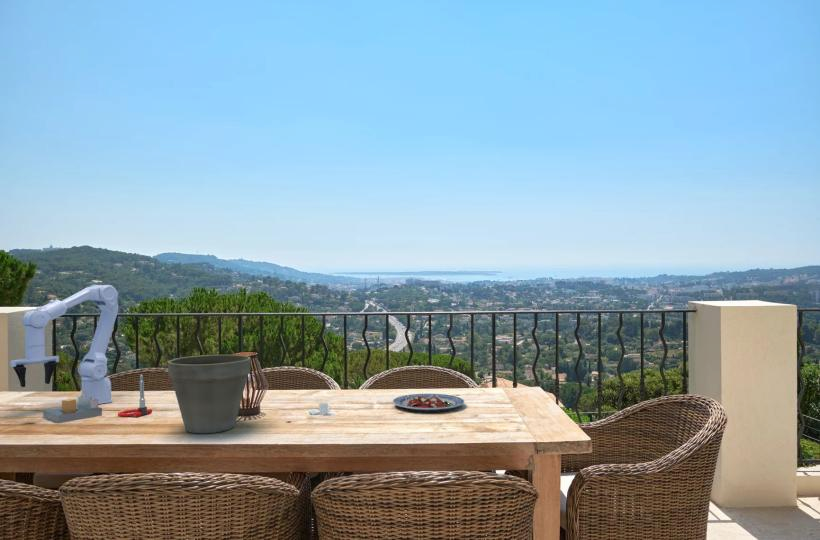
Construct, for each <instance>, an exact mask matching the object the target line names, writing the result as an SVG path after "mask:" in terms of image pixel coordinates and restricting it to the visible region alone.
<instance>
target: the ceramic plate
mask: <svg viewBox="0 0 820 540" xmlns="http://www.w3.org/2000/svg"><path fill="white" fill-rule="evenodd" d="M443 401H444V402H443ZM392 403H393V405H395V406H397V407H401V408H406V409H407V410H410V411H411V410H412V411H416V412H442V411H441V410H443V411H446V409H447V410H450V409H454V408H457V407H461V406H462V405H464V403H465V400H464V399H463V398H461V397H459V396H455V395H451V394H450V395H449V394H443V393H413V394H412V393H411V394H405V395H404V394H403V395H401V396H398V397H395V398H393V399H392ZM448 403H449V404H448Z"/></svg>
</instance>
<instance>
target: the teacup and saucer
mask: <svg viewBox="0 0 820 540" xmlns="http://www.w3.org/2000/svg"><path fill="white" fill-rule="evenodd" d="M331 408H332V407H331V405H330V404H329V403H328V402H320V403H318V409H316V408H312V409H311V408H310V409H309V410H308V414H309V415H311V417H315V418H320V416H324V418H329V417H334V416H335V415H336V413H335V412H333V411H331ZM328 414H331V415H328ZM318 415H320V416H318ZM326 415H328V416H326Z"/></svg>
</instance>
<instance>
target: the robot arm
mask: <svg viewBox="0 0 820 540" xmlns="http://www.w3.org/2000/svg"><path fill="white" fill-rule="evenodd" d="M118 297H119V292H118V291H117V290H116V288H115V287H114V286H113V285H111V284H105V285H104V284H92V285H90V286H87V287H85V288H84V289H82V290H80V291H78V292H76V293H74V294H73V295H70V296H68V297H66V298H64V299H63V300H60V299H51V300H49V302H48V303H47V304H45V305H42V306H38V307H36V309H35V310H28V311H27V312H26V313H24V315H23V317H22V318H21V323H22V324H23V325H24V327H25V334H24V335H25V336H24V337H25V338H24V339H25V340H24V341H25V342H24V343H25V358H21V359H13V360H10V367H12V368H13V370H14V371H15V374H16V375H17V378H18V380H19V381H18V382H19V384H20V388H26V372H27V367H25V366H30V365H38V364H43V366H44V383H45V384H46V385H49V384H50V383H51V379H52V376H53V373H54V372H55V369H56V367H57V365H58V363H59V362H60V356H59V355H52V356H46V344H45V343H46V340H45V339H46V338H45V336H46V333H45V330H46V327H45V326H47V325H48V324H49V322H51V321H53V320H55V319H57V318H59V317H61V316H63V315H65V314H66V313H67V310H68V309H69V308H71V307H74V306H76V305H78V304H79V305H80V304H82V303H84V302H86V301H88V300H89V301H91V302H92V303H94V304H95V305H97V307H98V308H99V310H100V315H99V319H98V322H97V324H96V328H95V332H94V336H93V338H92V342H91V345H90V347H89V351H88V352H87V353H86V354H85V355H84V356H83V358H82V361H81V362H80V363H79V365H78V366H77V373H78V374H79V375H80V377H81V395H86V396H88V397H95V399H98V405H101V404H107V403H112V402H113V400H112V382H111V379H110V378H108V377H105V376H106V375H107V373H108V366H107V365H108V358H107V357H106V352H107V349H108V345H109V343H110V339H111V336H112V332H113V329H114V325H115V322H116V319H117V315H118V314H119V313H118V312H119V303H118ZM76 404H78V401H76Z"/></svg>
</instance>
